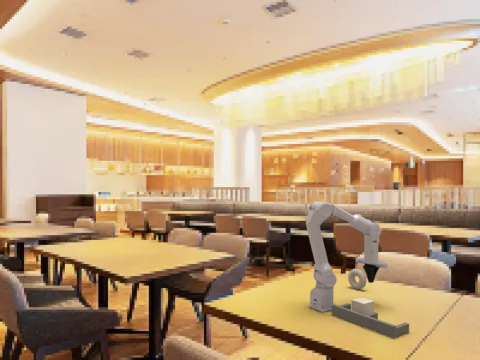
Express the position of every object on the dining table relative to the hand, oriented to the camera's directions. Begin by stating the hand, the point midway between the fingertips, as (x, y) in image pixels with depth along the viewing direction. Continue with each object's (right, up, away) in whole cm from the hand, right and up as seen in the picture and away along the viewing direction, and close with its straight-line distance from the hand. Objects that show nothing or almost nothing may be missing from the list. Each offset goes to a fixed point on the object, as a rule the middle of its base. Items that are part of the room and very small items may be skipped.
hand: (370, 282), depth 162 cm
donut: (+1, -10, +23) cm, 25 cm away
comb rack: (-9, -9, -22) cm, 26 cm away
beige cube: (-8, -10, -14) cm, 19 cm away
